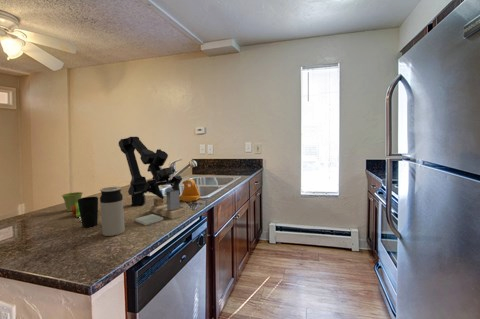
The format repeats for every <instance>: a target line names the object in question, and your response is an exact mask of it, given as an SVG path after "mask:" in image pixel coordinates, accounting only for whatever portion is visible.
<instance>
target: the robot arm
mask: <svg viewBox="0 0 480 319" xmlns="http://www.w3.org/2000/svg"><path fill="white" fill-rule="evenodd" d="M118 147H119V149H120V151H121V153H122V154H124V156H125V159H126V161H127V165H128V170H129V172H130V176H131V180H130V182H129V185H130V186H129V188H128V191H127V192H128V195H129V196H130V197H131V205H130V206H131V207H135V206H144V205H145V204H146V201H147V200H146V198H147V197H146V195H145V194H147V193H149V194H150V193H151V194H152V195H155V196H156V197H157V198H158V197H160V198H161V199H163V200H164V195H163V193H162V191H161V190H160V187H161V186H165V185H170V186H171V189H172V190H179V196H181V192H180V183H181V182H182V180H183V178H182V176H181V175H174V176H172V178H171V175H173V174H174V173H175V172H176V170H175V167H174V166H169V167H163V166H164V165H165V163H166V161H167V160H168V157H169V154H168V153H167V152H166V151H164V150H162V149H161V148H160V149H159V148H158V149H156V150H155V151H153V150H151V149H148V147H147V146H146V145H145V144H144V143H143V142H142V141H141V140H140V138H139V136H128V137H127V138H126V137H125V138H121V139H120V140H119V141H118ZM135 151H136V152H137V153H138V154H139V155H140V158H139V159H140V161H141V162H142V164H143V165H148V166H147V172H148V173H149V172H150V174H151V175H152V179H149V180H147V179H146V176H143V175H141V171H140V168H139V164H138V161H137V157H136V154H135ZM170 178H171V179H170ZM159 186H160V187H159Z"/></svg>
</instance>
